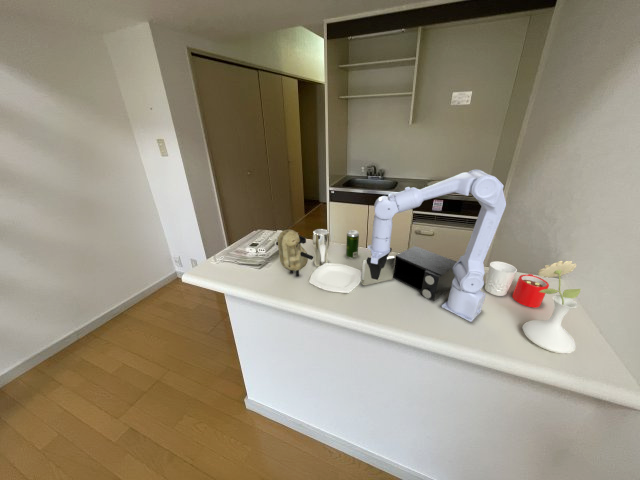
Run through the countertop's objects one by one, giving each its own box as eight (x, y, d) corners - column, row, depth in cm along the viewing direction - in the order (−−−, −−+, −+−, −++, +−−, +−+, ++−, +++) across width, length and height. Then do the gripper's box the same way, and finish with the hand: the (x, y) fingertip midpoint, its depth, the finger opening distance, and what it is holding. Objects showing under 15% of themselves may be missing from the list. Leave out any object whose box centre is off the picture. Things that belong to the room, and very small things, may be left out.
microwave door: (355, 276, 102) (356, 255, 98) (383, 271, 106) (385, 250, 102) (363, 285, 96) (365, 263, 92) (392, 279, 100) (395, 257, 96)
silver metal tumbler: (332, 262, 113) (332, 230, 107) (323, 269, 108) (323, 236, 101) (318, 258, 116) (318, 227, 110) (310, 264, 111) (309, 232, 105)
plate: (366, 273, 104) (367, 269, 103) (351, 301, 88) (351, 296, 87) (323, 264, 111) (323, 260, 111) (302, 287, 96) (302, 283, 95)
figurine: (322, 276, 102) (322, 230, 94) (301, 290, 94) (298, 241, 86) (289, 261, 114) (286, 219, 105) (267, 272, 106) (262, 227, 97)
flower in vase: (563, 332, 74) (602, 256, 64) (581, 363, 65) (630, 280, 54) (510, 320, 79) (538, 248, 69) (519, 347, 70) (553, 268, 59)
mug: (535, 290, 93) (543, 272, 90) (543, 310, 83) (552, 290, 80) (509, 285, 96) (515, 266, 93) (513, 303, 87) (521, 283, 83)
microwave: (432, 302, 87) (437, 277, 83) (388, 279, 100) (391, 257, 96) (453, 285, 96) (459, 262, 92) (411, 267, 109) (414, 245, 104)
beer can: (360, 256, 117) (361, 232, 112) (351, 260, 114) (353, 235, 109) (351, 252, 121) (352, 229, 116) (343, 255, 118) (344, 232, 113)
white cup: (482, 282, 98) (489, 259, 94) (507, 288, 94) (516, 264, 90) (482, 292, 92) (489, 269, 88) (508, 299, 88) (518, 275, 84)
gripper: (374, 225, 87) (371, 260, 93) (362, 242, 75) (359, 281, 81) (396, 229, 84) (391, 264, 90) (386, 246, 72) (381, 286, 78)
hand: (377, 272), depth 85 cm, fingers open, 7 cm apart
